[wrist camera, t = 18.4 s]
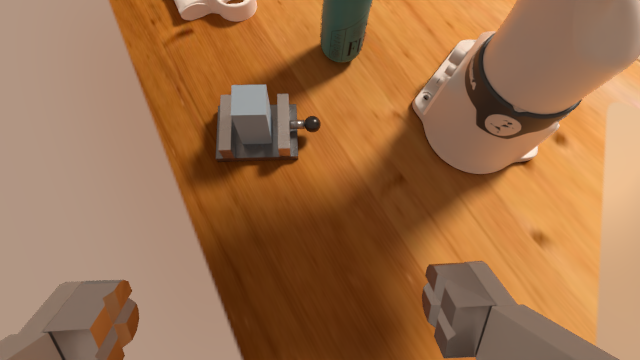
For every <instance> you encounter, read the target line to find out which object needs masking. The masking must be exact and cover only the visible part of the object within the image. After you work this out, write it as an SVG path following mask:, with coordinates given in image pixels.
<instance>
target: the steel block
mask: <svg viewBox="0 0 640 360" xmlns="http://www.w3.org/2000/svg"><path fill="white" fill-rule="evenodd" d="M231 117H232V120H233V122H234V124H235V127H236V129H237V132H238V134H239V137H240V139H241V141H242V144H269V143H272V115H271V109H270V104H269V98H268V93H267V87H266V85H232V95H231Z"/></svg>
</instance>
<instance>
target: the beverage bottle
mask: <svg viewBox="0 0 640 360" xmlns="http://www.w3.org/2000/svg"><path fill="white" fill-rule="evenodd" d="M372 2H373V1H372V0H324V2H322V3H323V12H322V17H321V19H322V20H321V21H322V30H321V28H320V31H321V33H320V34H321V35H320V37H321V40H320V41H321V47H322V50H323V52H324V54H325V55H326V56H327V57H328V58H329V59H331V60H333V61H336V62H348V61H351V60H353V59H354V58H355V57H356V56H357V55H358V54H359V52H360V51H361V49H362V48H361V47H362V45H363V44H362V42H363V37H364V33H365V29H366V25H367V20H368V19H369V18H368V15H369V11H370V7H371V3H372ZM365 34H366V33H365ZM364 38H365V37H364Z"/></svg>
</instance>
